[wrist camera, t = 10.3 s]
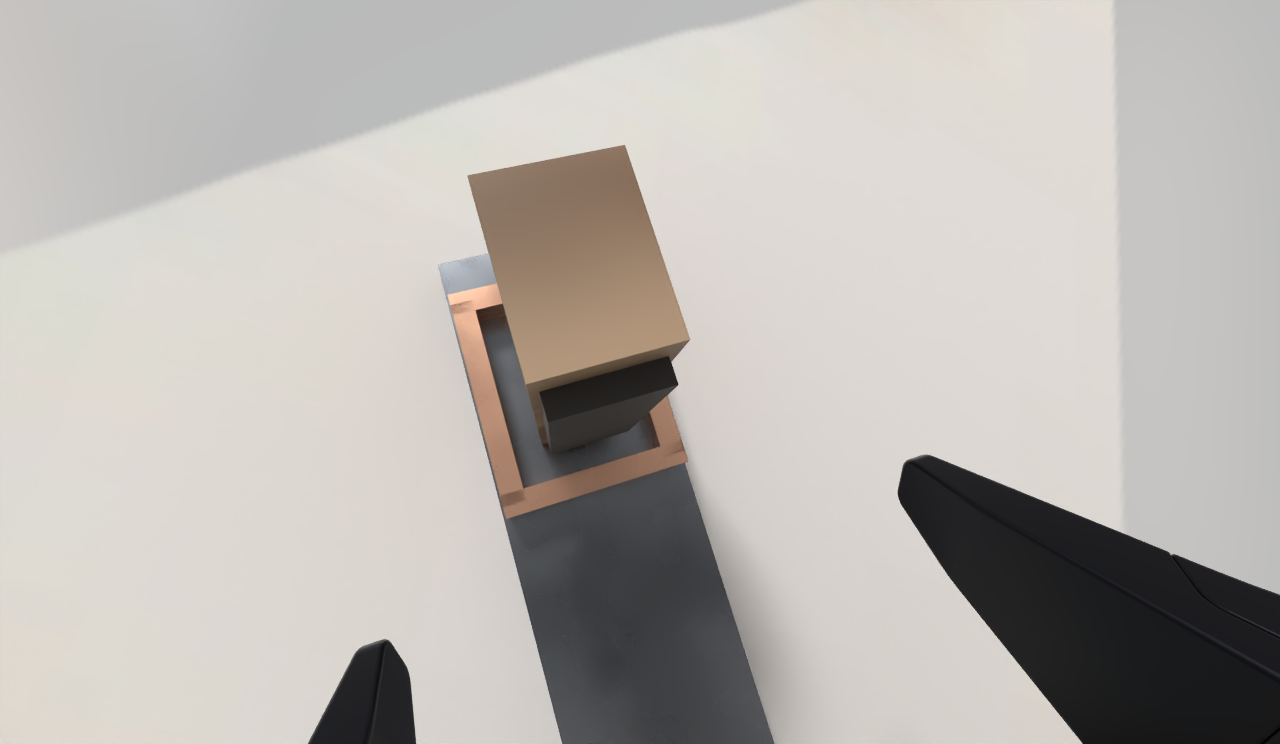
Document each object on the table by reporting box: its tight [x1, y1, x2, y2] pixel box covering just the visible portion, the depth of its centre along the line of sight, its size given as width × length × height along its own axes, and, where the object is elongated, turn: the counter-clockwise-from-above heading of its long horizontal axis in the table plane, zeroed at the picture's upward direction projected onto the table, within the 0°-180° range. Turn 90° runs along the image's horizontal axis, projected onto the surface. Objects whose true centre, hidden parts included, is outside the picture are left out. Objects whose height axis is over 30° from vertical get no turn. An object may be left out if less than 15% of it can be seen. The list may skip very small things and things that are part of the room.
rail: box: [438, 253, 774, 744], centre depth 16 cm, size 26×7×14 cm, turn 17°
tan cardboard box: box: [468, 145, 690, 454], centre depth 16 cm, size 5×3×12 cm, turn 17°
